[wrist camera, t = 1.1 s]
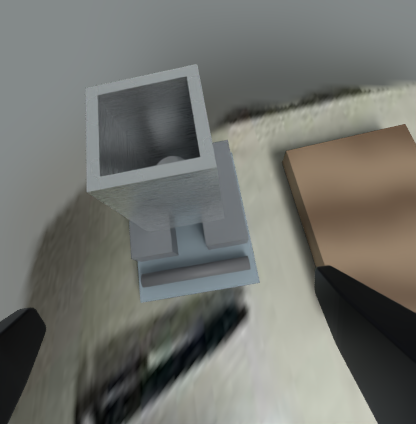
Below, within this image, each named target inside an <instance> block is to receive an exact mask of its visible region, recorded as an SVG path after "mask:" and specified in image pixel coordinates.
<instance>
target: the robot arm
mask: <svg viewBox="0 0 416 424" xmlns="http://www.w3.org/2000/svg"><path fill="white" fill-rule="evenodd" d="M315 293H316V296H317V298H318V301H319V303H320V306H321V308H322V311H323V313H324V316H325V318H326V321H327V323H328V326H329V328H330V331H331V333H332V336H333V338H334V340H335V343H336V345H337V347H338V349H339V351H340V353H341V355H342V357H343V359H344V360H345V362H346V364H347V366H348V368H349V370H350V372H351V374H352V376H353V377H354V379H355V381H356V383H357V385H358V387H359V389H360V391H361V392H362V394H363V396H364V398H365V400H366V402H367V404H368V406H369V408H370V409H371V411H372V413H373V415H374V417H375V419H376V421H377V423H378V424H416V313H415V312H413V311H412V310H410V309H408V308H406V307H404V306H403V305H401V304H399V303H397V302H395V301H394V300H392V299H390V298H388V297H386V296H385V295H383V294H381V293H379V292H378V291H376V290H374V289H372V288H370V287H369V286H367V285H365V284H363V283H361V282H360V281H358V280H356V279H354V278H352V277H351V276H349V275H347V274H345V273H343V272H342V271H340V270H338V269H336V268H334V267H333V266H330V265H325V266H318V267H316V269H315ZM45 332H46V325H45V323H44V322H43V320H42V318H41V317H40V315H39V314H38V312H37V310H36V309H34V308H24V309H20V310H17V311H16V312H14V313H13V314H11V315H10V316H8V317H7V318H5V319H4V320H2V321H1V322H0V424H8V422H9V420H10V418H11V415H12V413H13V411H14V409H15V407H16V405H17V403H18V400H19V398H20V396H21V394H22V392H23V390H24V387H25V385H26V383H27V380H28V378H29V375H30V373H31V370H32V367H33V365H34V362H35V359H36V357H37V354H38V351H39V349H40V346H41V343H42V341H43V338H44V335H45Z"/></svg>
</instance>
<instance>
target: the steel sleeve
mask: <svg viewBox="0 0 416 424" xmlns="http://www.w3.org/2000/svg"><path fill="white" fill-rule="evenodd" d="M169 156H178V157H181V158H183V159H184V160H183V161H178V162H173V163H168V164H162V165H157V164H158V163H159V162H160V161H161V160H162V159H164V158H166V157H169ZM156 165H157V166H156ZM86 167H87V168H86V175H87V193H89V194H90V195H92V196H93V197H95V198H97V199H98V200H100V201H101V202H103V203H104V204H106V205H107V206H109V207H110V208H112V209H113V210H115V211H116V212H118V213H120V214H121V215H123V216H124V217H126V218H127V219H129V220H130V221H132V222H133V223H135V224H136V225H138V226H139V227H141V228H143V229H144V230H146V231H147V232H154V231H159V230H165V229H170V228H176V227H181V226H187V225H192V224H198V223H203V222H209V221H214V220H220V219H224V213H223V206H222V199H221V192H220V185H219V178H218V172H217V165H216V160H215V155H214V150H213V144H212V139H211V134H210V129H209V123H208V118H207V113H206V108H205V103H204V97H203V92H202V87H201V82H200V76H199V71H198V66H197V64H195V65H190V66H185V67H181V68H176V69H171V70H167V71H162V72H157V73H152V74H148V75H143V76H139V77H134V78H129V79H125V80H121V81H115V82H111V83H106V84H101V85H97V86H92V87H87V88H86Z"/></svg>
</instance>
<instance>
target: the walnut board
mask: <svg viewBox="0 0 416 424" xmlns="http://www.w3.org/2000/svg"><path fill="white" fill-rule="evenodd" d="M282 164H283V167H284V170H285V173H286V176H287V179H288V182H289V185H290V188H291V191H292V194H293V197H294V201H295V204H296V207H297V210H298V213H299V216H300V219H301V222H302V225H303V228H304V231H305V234H306V237H307V241H308V244H309V247H310V250H311V253H312V256H313V259H314V262H315V265H316V267H318V266H325V265H330V266H333V267H334V268H336V269H338V270H340V271H342V272H343V273H345V274H347V275H349V276H351V277H352V278H354V279H356V280H358V281H360V282H361V283H363V284H365V285H367V286H369V287H370V288H372V289H374V290H376V291H378V292H379V293H381V294H383V295H385V296H386V297H388V298H390V299H392V300H394V301H395V302H397V303H399V304H401V305H403V306H404V307H406V308H408V309H410V310H412V311H413V312H415V313H416V144H415V142H414V140H413V138H412V136H411V134H410V132H409V130H408V128H407V126H406V125H405V124H403V125H399V126H394V127H390V128H385V129H381V130H376V131H372V132H368V133H363V134H359V135H354V136H350V137H345V138H341V139H337V140H332V141H328V142H323V143H319V144H314V145H310V146H306V147H301V148H297V149H292V150H288V151H286V153H285V156H284V158H283V161H282Z"/></svg>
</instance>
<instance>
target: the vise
mask: <svg viewBox="0 0 416 424" xmlns="http://www.w3.org/2000/svg"><path fill="white" fill-rule="evenodd" d="M212 144H213V150H214V155H215V160H216V165H217V172H218V178H219V185H220V192H221V199H222V206H223V213H224V219H220V220H214V221H209V222H203V223H198V224H192V225H187V226H181V227H176V228H170V229H165V230H159V231H154V232H147V231H146V230H144V229H143V228H141V227H139V226H138V225H136V224H135V223H133V222H132V221H130V220H129V229H130V244H131V259H133V260H137V261H138V273H139V287H140V300H141V302H148V301H154V300H160V299H166V298H172V297H178V296H184V295H190V294H196V293H202V292H208V291H213V290H219V289H225V288H231V287H237V286H243V285H249V284H255V283H260V281H259V277H258V272H257V267H256V263H255V258H254V253H253V249H252V244H251V240H250V235H249V230H248V226H247V221H246V216H245V212H244V207H243V202H242V198H241V193H240V189H239V184H238V179H237V175H236V170H235V165H234V161H233V156H232V152H231V153H230V149H229V144H228V140H225V141H220V142H215V143H212ZM183 160H184V159H183V158H181V157H178V156H169V157H166V158H164V159H162V160H161V161H160V162H159V163H158V164H157V165H162V164H168V163H173V162H178V161H183ZM157 165H156V166H157Z"/></svg>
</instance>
